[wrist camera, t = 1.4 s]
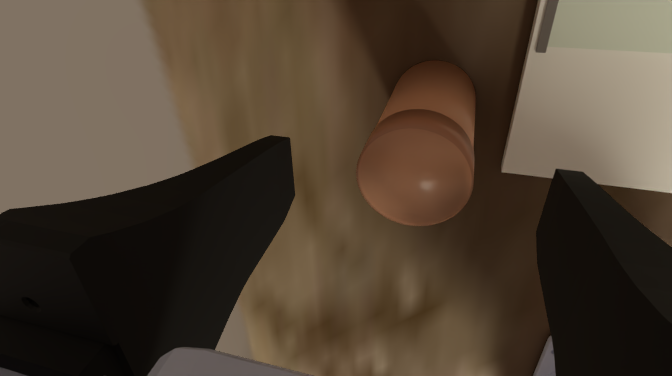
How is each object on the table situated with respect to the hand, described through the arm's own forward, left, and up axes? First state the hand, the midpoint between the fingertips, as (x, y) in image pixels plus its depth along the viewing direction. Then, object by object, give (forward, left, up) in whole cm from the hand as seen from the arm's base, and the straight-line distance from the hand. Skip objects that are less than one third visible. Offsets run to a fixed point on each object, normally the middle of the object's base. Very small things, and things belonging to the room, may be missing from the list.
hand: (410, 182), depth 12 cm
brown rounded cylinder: (0, 0, -6) cm, 6 cm away
